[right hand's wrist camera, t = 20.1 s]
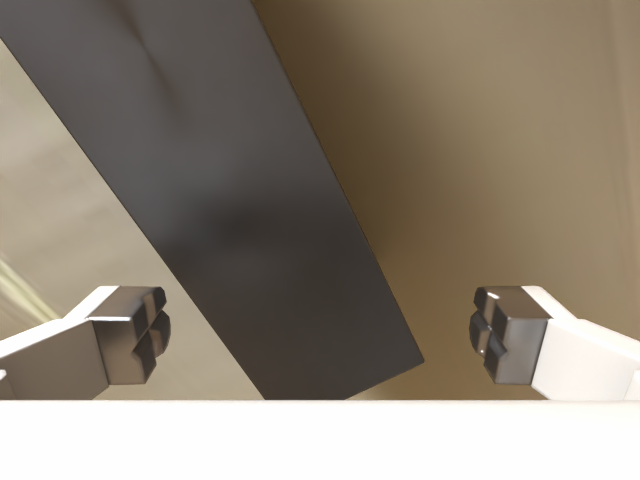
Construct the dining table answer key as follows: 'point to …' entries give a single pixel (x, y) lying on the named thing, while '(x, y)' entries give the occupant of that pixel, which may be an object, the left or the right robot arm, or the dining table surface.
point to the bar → (221, 182)
